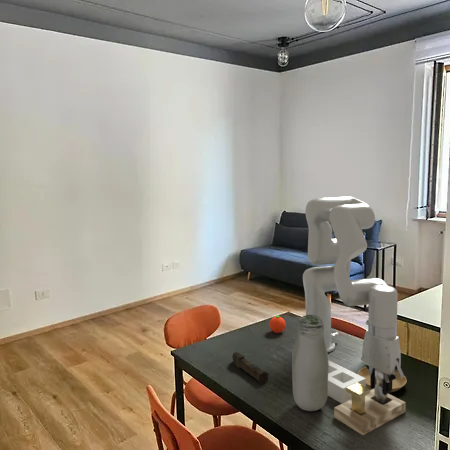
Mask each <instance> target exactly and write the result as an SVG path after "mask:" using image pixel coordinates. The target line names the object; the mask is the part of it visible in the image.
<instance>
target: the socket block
mask: <svg viewBox="0 0 450 450" xmlns="http://www.w3.org/2000/svg"><path fill="white" fill-rule="evenodd" d="M374 390H375V388H374V389H370V394H368V395H366V396H365V414H364V415H362V416H361V415H359V414H357V413H355V412H354V411H352V399H351V400H349V401H347V402H345V403H343V404H342V403H339V405H337V406H334V409H333V412H334V413H333V418H334V419H336V420H337V421H339V422H341V423H342V424H345V426H347V427H349V428H351V429H353V431H355V432H357V433H358V434H360V435H362V436H365V435H366V434H368V433H370V432H373V430H376V429H377V428H380V427H381V426H383V425H385V424H387V423H388V422H390V421H392V420H394V419H395V418H398V417H399V416H401V415H403V414H404V413H406V403H407V402H406V401H404V400H401V399H400V398H397V397H396V396H394V395H392V394H390V393H389V394H387V403H386V404H384V405H382V404H380V403H378V402H376V401H374Z"/></svg>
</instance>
